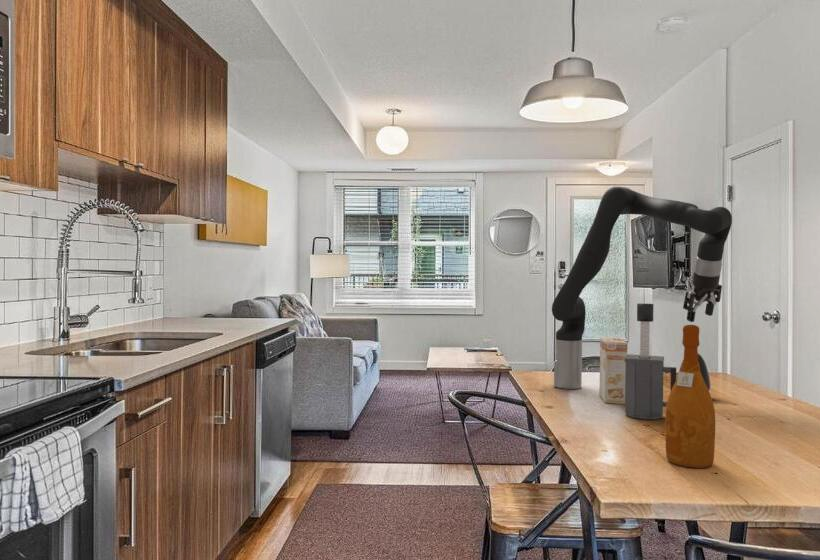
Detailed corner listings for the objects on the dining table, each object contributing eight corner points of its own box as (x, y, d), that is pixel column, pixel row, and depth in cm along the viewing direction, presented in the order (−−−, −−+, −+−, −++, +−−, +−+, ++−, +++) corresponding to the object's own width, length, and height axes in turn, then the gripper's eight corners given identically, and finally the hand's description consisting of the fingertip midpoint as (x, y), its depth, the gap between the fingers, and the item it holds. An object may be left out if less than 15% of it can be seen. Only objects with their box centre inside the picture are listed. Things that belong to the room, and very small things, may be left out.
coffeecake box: (627, 404, 190) (628, 342, 190) (603, 403, 191) (604, 342, 191) (620, 395, 204) (621, 337, 204) (598, 394, 206) (599, 337, 206)
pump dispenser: (703, 395, 206) (703, 350, 206) (715, 401, 196) (716, 354, 196) (672, 394, 207) (672, 350, 207) (682, 400, 197) (683, 354, 197)
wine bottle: (656, 456, 136) (658, 322, 135) (698, 455, 136) (700, 323, 136) (679, 470, 126) (681, 326, 125) (724, 469, 127) (726, 326, 126)
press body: (623, 417, 172) (624, 358, 172) (627, 410, 181) (627, 354, 181) (675, 423, 166) (676, 361, 166) (676, 415, 175) (676, 357, 175)
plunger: (629, 384, 172) (630, 303, 172) (631, 379, 179) (632, 302, 179) (657, 386, 169) (658, 304, 169) (659, 381, 176) (660, 303, 176)
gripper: (712, 263, 194) (704, 308, 200) (681, 271, 188) (674, 318, 194) (733, 270, 188) (724, 317, 194) (701, 279, 182) (694, 327, 188)
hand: (699, 317), depth 194 cm, fingers open, 8 cm apart
